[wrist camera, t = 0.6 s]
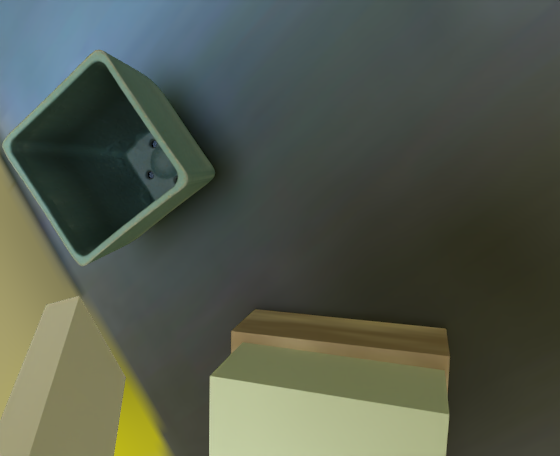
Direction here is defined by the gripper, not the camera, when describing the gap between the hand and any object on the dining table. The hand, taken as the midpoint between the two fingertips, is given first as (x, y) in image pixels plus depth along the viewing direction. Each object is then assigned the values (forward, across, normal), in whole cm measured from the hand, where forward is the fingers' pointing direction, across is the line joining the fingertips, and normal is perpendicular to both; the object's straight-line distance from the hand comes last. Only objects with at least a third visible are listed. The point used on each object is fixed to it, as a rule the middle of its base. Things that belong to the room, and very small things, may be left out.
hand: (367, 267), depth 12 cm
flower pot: (+25, -8, -6) cm, 27 cm away
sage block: (+9, -2, -20) cm, 22 cm away
